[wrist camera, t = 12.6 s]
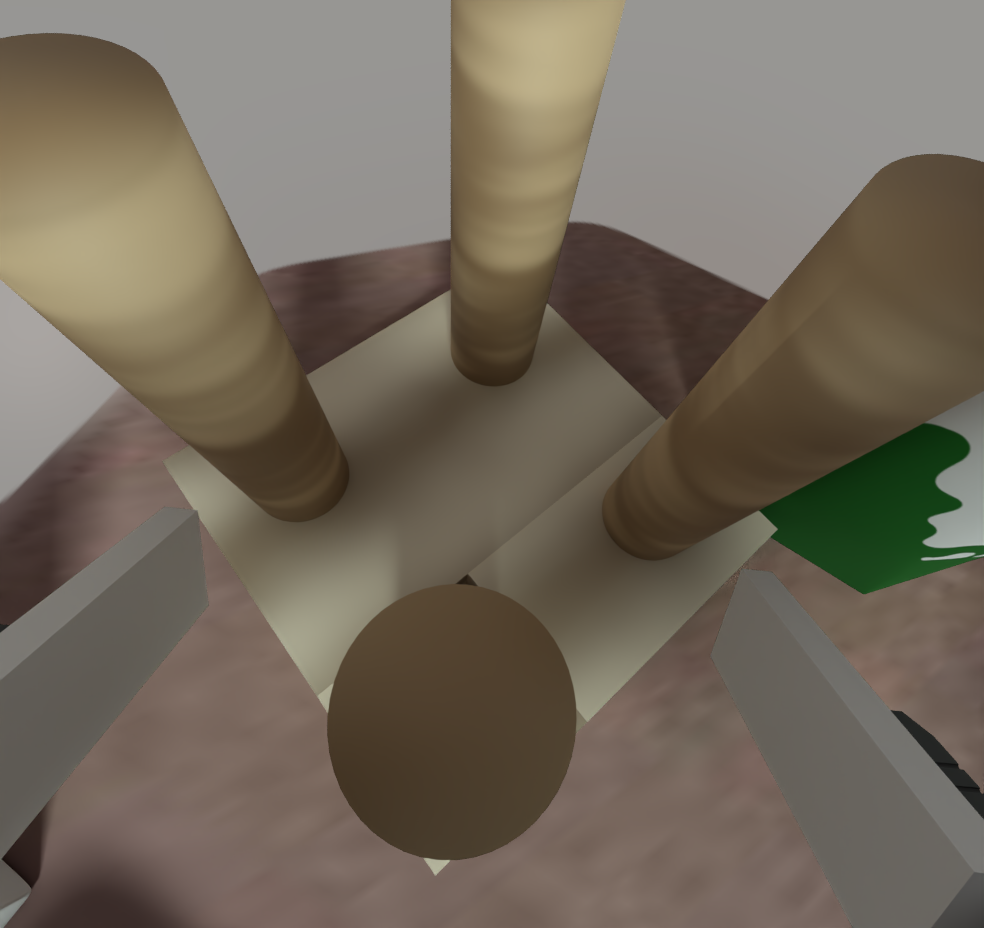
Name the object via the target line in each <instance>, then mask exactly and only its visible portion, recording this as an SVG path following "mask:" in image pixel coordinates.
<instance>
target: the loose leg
mask: <svg viewBox="0 0 984 928" xmlns="http://www.w3.org/2000/svg"><path fill="white" fill-rule="evenodd" d="M576 723H577V717H576V700H575V693H574V687H573V683H572V679H571V676H570V672H569V669H568V666H567V664H566V661H565V659H564V657H563V654H562V652H561V651H560V649H559V647H558V645H557V643H556V642H555V640H554V638H553V637H552V636H551V634H550V633H549V632H548V630H547V629H546V627H545V626H544V625H543V624H542V623H541V622H540V621H539V620H538V619H537V618H536V617H535V616H534V615H533V614H532V613H531V612H530V611H528V610H527V609H526V608H525V607H524V606H522V605H521V604H519V603H517V602H516V601H514V600H513V599H511V598H509V597H507V596H505V595H503V594H501V593H499V592H496V591H493V590H490V589H487V588H483V587H479V586H473V585H464V584H449V585H438V586H434V587H429V588H425V589H422V590H419V591H416V592H414V593H411V594H408V595H406V596H404V597H403V598H401V599H399V600H397V601H395V602H393V603H392V604H391V605H389V606H388V607H386V608H385V609H383V610H382V611H381V612H380V613H379V614H377V615H376V616H375V617H374V618H373V619H372V620H371V621H370V622H369V623H368V624H367V625H366V626H365V627H364V629H363V630H362V631H361V632H360V633H359V634H358V636H357V637H356V639H355V640H354V642H353V643H352V644H351V646H350V647H349V649H348V651H347V653H346V655H345V657H344V659H343V660H342V662H341V664H340V667H339V670H338V672H337V675H336V677H335V680H334V684H333V688H332V692H331V696H330V701H329V709H328V723H327V736H328V744H329V753H330V757H331V761H332V766H333V770H334V773H335V775H336V778H337V781H338V783H339V786H340V788H341V790H342V792H343V794H344V796H345V798H346V799H347V801H348V803H349V805H350V806H351V808H352V809H353V810H354V812H355V813H356V814H357V816H358V817H359V818H360V820H361V821H362V822H363V823H364V824H365V825H366V826H367V827H368V828H369V829H370V830H371V831H372V832H373V833H375V834H376V835H378V836H379V837H380V838H382V839H383V840H384V841H386V842H387V843H389V844H390V845H392V846H394V847H396V848H398V849H400V850H402V851H404V852H407V853H410V854H413V855H416V856H419V857H423V858H429V859H435V860H460V859H467V858H473V857H477V856H480V855H483V854H486V853H489V852H492V851H494V850H496V849H498V848H500V847H502V846H504V845H506V844H508V843H509V842H511V841H512V840H514V839H515V838H517V837H518V836H520V835H521V834H522V833H524V832H525V831H526V830H527V829H528V828H529V827H530V826H531V825H532V824H533V823H535V822H536V821H537V819H538V818H539V817H540V816H541V815H542V813H543V812H544V811H545V810H546V809H547V807H548V806H549V804H550V803H551V801H552V800H553V798H554V797H555V795H556V793H557V792H558V790H559V788H560V786H561V784H562V781H563V779H564V777H565V775H566V772H567V769H568V766H569V763H570V760H571V757H572V752H573V747H574V742H575V735H576Z"/></svg>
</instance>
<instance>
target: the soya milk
mask: <svg viewBox="0 0 984 928" xmlns="http://www.w3.org/2000/svg"><path fill="white" fill-rule="evenodd" d="M759 511H760V512H761V513H762V514H763V515H764V516H765V517H766V518H767V519H768V520H769V521H770V522H771V523H772V524H773V525H774V526H775V527H776V528H777V529H778V530H777V531H776V532H775V533H774V534H773V535H772V536H771V538H773V539H774V540H776V541H778V542H779V543H781V544H782V545H784V546H786V547H787V548H789V549H791V550H792V551H794V552H795V553H797V554H799V555H800V556H802V557H804V558H805V559H807V560H808V561H810V562H812V563H813V564H815V565H817V566H818V567H820V568H821V569H823V570H825V571H826V572H828V573H830V574H831V575H833V576H834V577H836V578H838V579H839V580H841V581H843V582H844V583H846V584H847V585H849V586H851V587H852V588H854V589H856V590H857V591H859V592H860V593H862V594H867V593H870V592H873V591H876V590H879V589H883V588H886V587H889V586H892V585H895V584H898V583H902V582H905V581H908V580H911V579H914V578H918V577H921V576H924V575H927V574H930V573H933V572H937V571H940V570H943V569H946V568H949V567H952V566H956V565H959V564H962V563H965V562H968V561H971V560H975V559H978V558H982V557H984V391H983V392H981V393H979V394H977V395H976V396H974V397H972V398H970V399H968V400H966V401H964V402H962V403H960V404H959V405H957V406H955V407H953V408H951V409H949V410H947V411H945V412H943V413H942V414H940V415H938V416H936V417H934V418H932V419H930V420H928V421H927V422H925V423H923V424H921V425H919V426H917V427H915V428H913V429H911V430H910V431H908V432H906V433H904V434H902V435H900V436H898V437H896V438H894V439H893V440H891V441H889V442H887V443H885V444H883V445H881V446H879V447H878V448H876V449H874V450H872V451H870V452H868V453H866V454H864V455H862V456H861V457H859V458H857V459H855V460H853V461H851V462H849V463H847V464H845V465H844V466H842V467H840V468H838V469H836V470H834V471H832V472H830V473H828V474H827V475H825V476H823V477H821V478H819V479H817V480H815V481H813V482H812V483H810V484H808V485H806V486H804V487H802V488H800V489H798V490H796V491H795V492H793V493H791V494H789V495H787V496H785V497H783V498H781V499H779V500H778V501H776V502H774V503H772V504H770V505H768V506H766V507H764V508H763V509H761V510H759Z"/></svg>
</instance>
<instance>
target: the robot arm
mask: <svg viewBox="0 0 984 928" xmlns="http://www.w3.org/2000/svg"><path fill="white" fill-rule="evenodd" d="M208 605H209V604H208V595H207V587H206V578H205V569H204V561H203V552H202V544H201V535H200V526H199V518H198V510H191V509H181V508H172V507H164V508H162V509H161V510H160V511H158V512H157V513H156V514H154V515H153V516H152V517H151V518H149V519H148V520H147V521H145V522H144V523H143V524H141V525H140V526H139V527H138V528H136V529H135V530H134V531H132V532H131V533H130V534H128V535H127V536H126V537H124V538H123V539H122V540H121V541H119V542H118V543H117V544H115V545H114V546H113V547H111V548H110V549H109V550H108V551H106V552H105V553H104V554H102V555H101V556H100V557H98V558H97V559H96V560H94V561H93V562H92V563H91V564H89V565H88V566H87V567H85V568H84V569H83V570H81V571H80V572H79V573H77V574H76V575H75V576H74V577H72V578H71V579H70V580H68V581H67V582H66V583H64V584H63V585H62V586H61V587H59V588H58V589H57V590H55V591H54V592H53V593H51V594H50V595H49V596H47V597H46V598H45V599H44V600H42V601H41V602H40V603H38V604H37V605H36V606H34V607H33V608H32V609H31V610H29V611H28V612H27V613H25V614H24V615H23V616H21V617H20V618H19V619H17V620H16V621H15V622H14V623H12V624H11V625H1V624H0V860H1V859H2V858H3V856H4V855H5V854H6V853H7V851H8V850H9V849H10V848H11V846H12V845H13V844H14V843H15V842H16V840H17V839H18V838H19V837H20V835H21V834H22V833H23V832H24V831H25V829H26V828H27V827H28V826H29V824H30V823H31V822H32V821H33V820H34V818H35V817H36V816H37V815H38V813H39V812H40V811H41V810H42V809H43V807H44V806H45V805H46V804H47V802H48V801H49V800H50V799H51V798H52V796H53V795H54V794H55V793H56V791H57V790H58V789H59V788H60V787H61V785H62V784H63V783H64V782H65V780H66V779H67V778H68V777H69V776H70V774H71V773H72V772H73V771H74V769H75V768H76V767H77V766H78V765H79V763H80V762H81V761H82V760H83V758H84V757H85V756H86V755H87V754H88V752H89V751H90V750H91V749H92V747H93V746H94V745H95V744H96V742H97V741H98V740H99V739H100V738H101V736H102V735H103V734H104V733H105V731H106V730H107V729H108V728H109V727H110V725H111V724H112V723H113V722H114V720H115V719H116V718H117V717H118V716H119V714H120V713H121V712H122V711H123V709H124V708H125V707H126V706H127V705H128V703H129V702H130V701H131V700H132V698H133V697H134V696H135V695H136V694H137V692H138V691H139V690H140V689H141V687H142V686H143V685H144V684H145V683H146V681H147V680H148V679H149V678H150V676H151V675H152V674H153V673H154V672H155V670H156V669H157V668H158V667H159V665H160V664H161V663H162V662H163V661H164V659H165V658H166V657H167V656H168V654H169V653H170V652H171V651H172V650H173V648H174V647H175V646H176V645H177V643H178V642H179V641H180V640H181V639H182V637H183V636H184V635H185V634H186V632H187V631H188V630H189V629H190V627H191V626H192V625H193V624H194V623H195V621H196V620H197V619H198V618H199V616H200V615H201V614H202V613H203V612H204V610H205V609H206V608H207V607H208ZM710 657H711V659H712V660H713V662H714V664H715V666H716V668H717V670H718V672H719V674H720V676H721V678H722V680H723V681H724V683H725V685H726V687H727V689H728V691H729V693H730V695H731V697H732V699H733V701H734V702H735V704H736V706H737V708H738V710H739V712H740V714H741V716H742V718H743V720H744V722H745V723H746V725H747V727H748V729H749V731H750V733H751V735H752V737H753V739H754V741H755V743H756V744H757V746H758V748H759V750H760V752H761V754H762V756H763V758H764V760H765V762H766V764H767V765H768V767H769V769H770V771H771V773H772V775H773V777H774V779H775V781H776V783H777V785H778V786H779V788H780V790H781V792H782V794H783V796H784V798H785V800H786V802H787V804H788V806H789V807H790V809H791V811H792V813H793V815H794V817H795V819H796V821H797V823H798V825H799V827H800V828H801V830H802V832H803V834H804V836H805V838H806V840H807V842H808V844H809V846H810V848H811V849H812V851H813V853H814V855H815V857H816V859H817V861H818V863H819V865H820V867H821V869H822V870H823V872H824V874H825V876H826V878H827V880H828V882H829V884H830V886H831V888H832V890H833V891H834V893H835V895H836V897H837V899H838V901H839V903H840V905H841V907H842V909H843V911H844V912H845V914H846V916H847V918H848V920H849V922H850V924H851V926H852V928H984V794H982V793H981V792H980V790H979V789H980V787H979V786H978V785H977V784H976V783H975V782H974V781H973V780H972V779H971V777H970V776H969V775H968V774H967V773H966V772H965V771H964V770H961V769H959V767H958V763H957V762H956V761H955V760H954V759H953V757H952V756H951V755H950V754H949V753H948V752H947V751H946V750H945V748H944V747H943V746H942V745H941V744H940V743H939V742H938V741H937V740H936V738H935V737H934V736H933V735H931V734H930V733H929V732H927V731H926V730H925V729H924V728H922V727H921V726H920V725H918V724H917V723H916V722H915V721H913V720H912V719H911V718H909V717H908V716H907V715H906V714H904V713H903V712H902V711H892V710H890V709H889V708H888V707H887V706H886V705H885V703H884V702H883V701H882V700H881V699H880V698H879V696H878V695H877V694H876V693H875V692H874V691H873V689H872V688H871V687H870V686H869V685H868V684H867V682H866V681H865V680H864V679H863V678H862V677H861V675H860V674H859V673H858V672H857V671H856V670H855V668H854V667H853V666H852V665H851V664H850V662H849V661H848V660H847V659H846V658H845V657H844V655H843V654H842V653H841V652H840V651H839V650H838V648H837V647H836V646H835V645H834V644H833V643H832V641H831V640H830V639H829V638H828V637H827V636H826V634H825V633H824V632H823V631H822V630H821V629H820V627H819V626H818V625H817V624H816V623H815V622H814V620H813V619H812V618H811V617H810V616H809V614H808V613H807V612H806V611H805V610H804V609H803V607H802V606H801V605H800V604H799V603H798V602H797V600H796V599H795V598H794V597H793V596H792V595H791V593H790V592H789V591H788V590H787V589H786V588H785V586H784V585H783V584H782V583H781V582H780V581H779V579H778V578H777V577H776V576H775V575H774V573H773V572H768V571H759V570H750V569H741V572H740V575H739V577H738V580H737V583H736V586H735V588H734V591H733V594H732V597H731V600H730V602H729V605H728V608H727V611H726V613H725V616H724V619H723V622H722V625H721V627H720V630H719V633H718V636H717V638H716V641H715V644H714V647H713V650H712V652H711V655H710Z"/></svg>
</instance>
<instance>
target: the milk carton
mask: <svg viewBox="0 0 984 928" xmlns="http://www.w3.org/2000/svg"><path fill="white" fill-rule="evenodd" d="M30 893H31V888H30V886H29V885H28V884H27V883H26V882H25V881H24V880H23V879H22V878H21V877H20V876H19V875H18V874H17V873H16V872H15V871H14V870H13V869H12V868H11V867H9V866H8V865H7V864H6V863H5V862H4V861H3V860H2V859H1V860H0V928H3V927H4V926H5V925H6V924H7V923H8V921H9V920H10V919H11V918H12V916H13V915H14V914H15V913H16V911H17V910H18V909H19V908H20V907H21V905H22V904H23V903H24V902H25V900H26V899H27V898H28V896H29V895H30Z"/></svg>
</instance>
